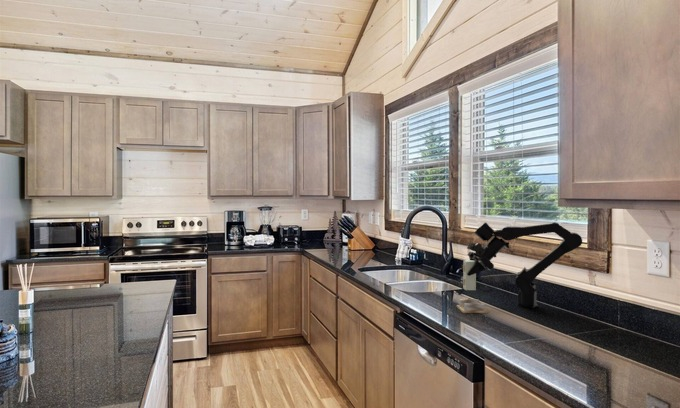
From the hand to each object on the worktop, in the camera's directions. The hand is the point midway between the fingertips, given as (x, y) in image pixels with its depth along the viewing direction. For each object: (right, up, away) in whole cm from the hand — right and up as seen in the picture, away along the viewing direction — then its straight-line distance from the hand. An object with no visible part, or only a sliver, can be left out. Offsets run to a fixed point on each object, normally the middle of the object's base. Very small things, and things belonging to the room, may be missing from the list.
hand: (466, 274), depth 190 cm
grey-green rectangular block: (+1, -7, 0) cm, 7 cm away
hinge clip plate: (-1, -13, -12) cm, 18 cm away
